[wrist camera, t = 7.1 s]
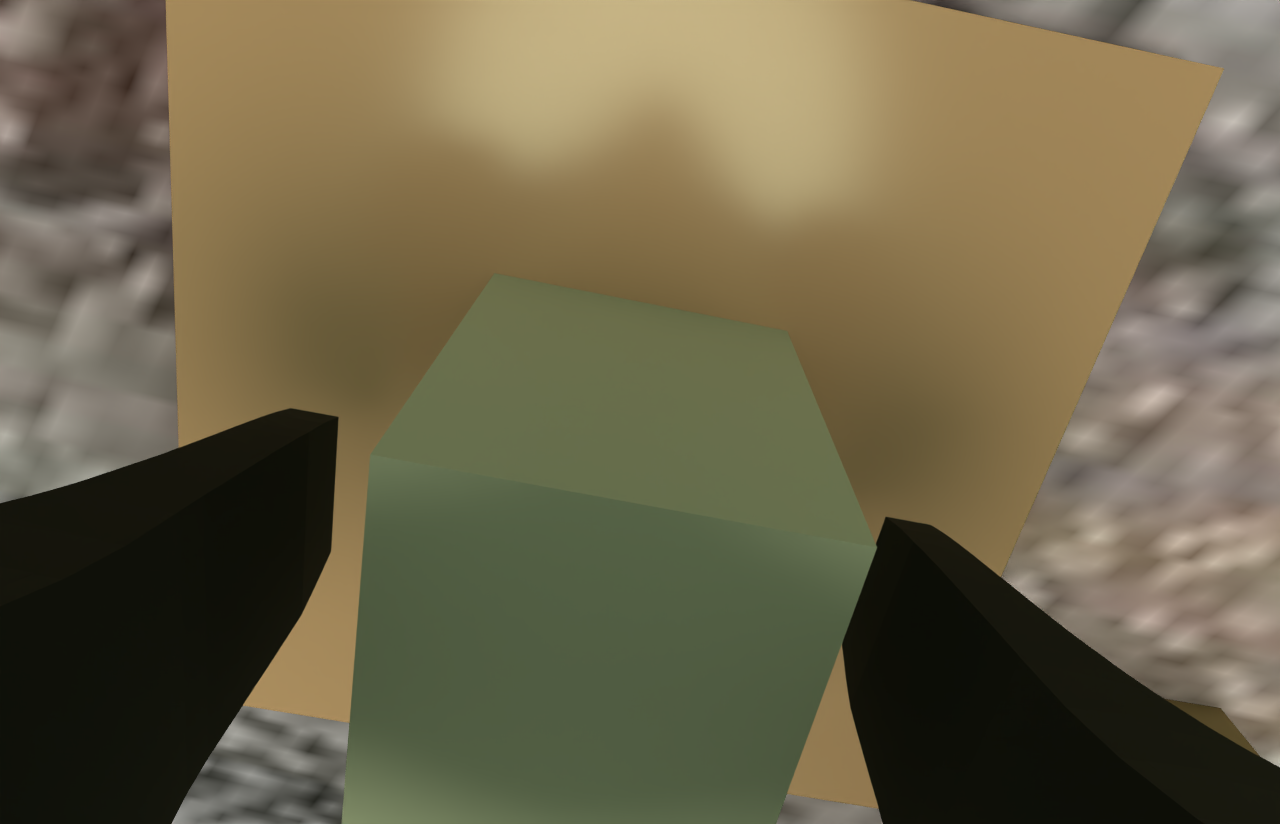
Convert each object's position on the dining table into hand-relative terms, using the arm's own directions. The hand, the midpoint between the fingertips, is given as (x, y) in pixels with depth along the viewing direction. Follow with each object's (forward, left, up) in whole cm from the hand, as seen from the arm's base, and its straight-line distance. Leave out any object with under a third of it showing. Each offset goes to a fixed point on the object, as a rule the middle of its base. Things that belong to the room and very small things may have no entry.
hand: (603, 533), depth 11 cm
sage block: (0, 0, -3) cm, 3 cm away
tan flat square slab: (0, 0, -4) cm, 4 cm away
